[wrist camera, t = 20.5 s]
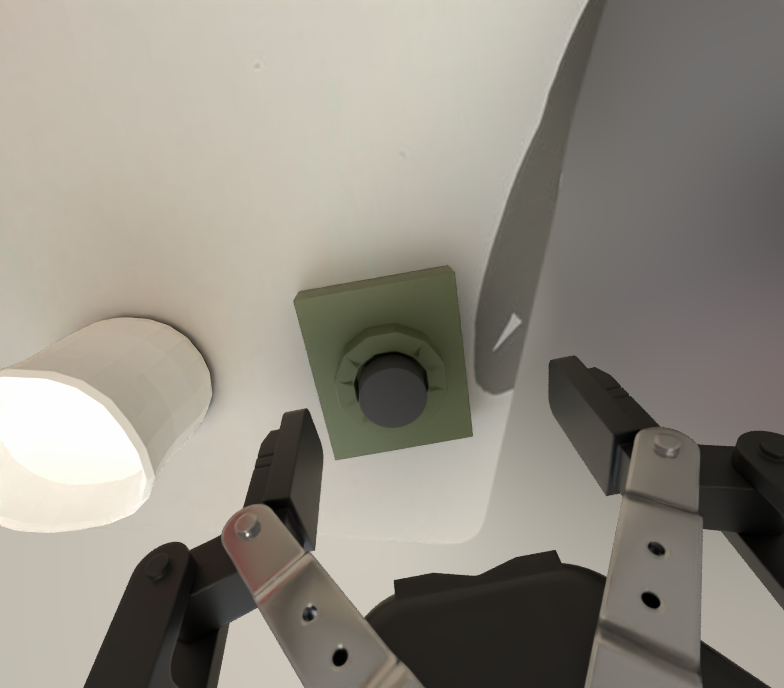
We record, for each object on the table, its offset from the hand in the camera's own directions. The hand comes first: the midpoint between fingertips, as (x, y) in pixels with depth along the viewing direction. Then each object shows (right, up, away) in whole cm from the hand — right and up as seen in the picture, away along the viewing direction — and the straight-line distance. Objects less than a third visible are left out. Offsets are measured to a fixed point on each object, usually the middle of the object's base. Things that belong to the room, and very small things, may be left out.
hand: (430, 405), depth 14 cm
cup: (-18, 0, +15) cm, 24 cm away
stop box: (-2, +1, +16) cm, 16 cm away
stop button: (-1, 0, +12) cm, 12 cm away
